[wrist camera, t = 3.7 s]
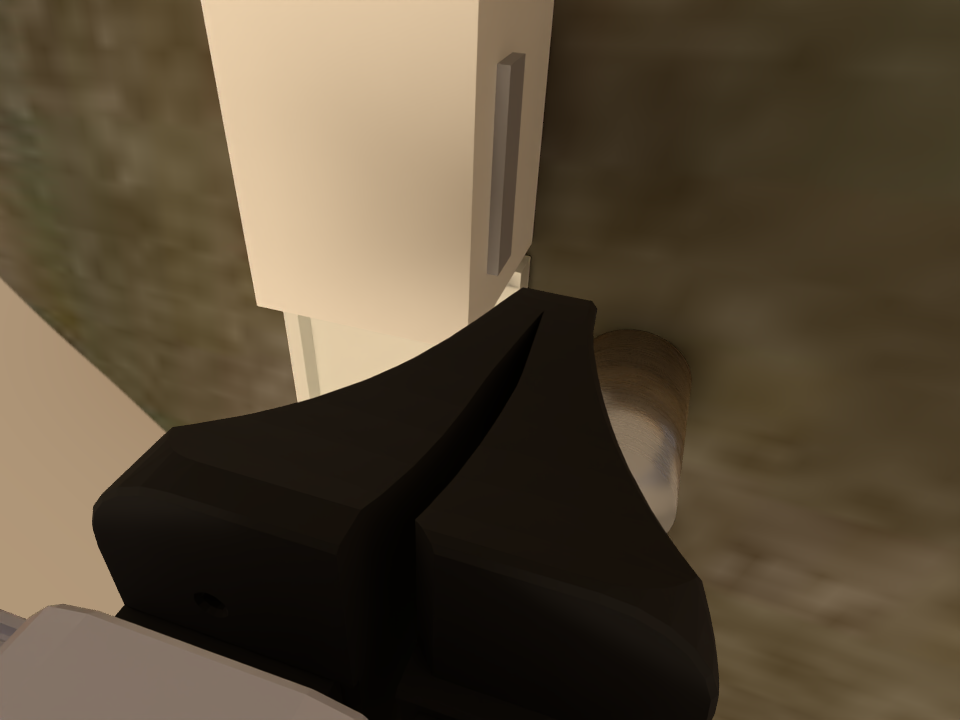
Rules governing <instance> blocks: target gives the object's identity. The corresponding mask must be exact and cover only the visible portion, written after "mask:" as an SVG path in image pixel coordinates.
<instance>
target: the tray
mask: <svg viewBox="0 0 960 720" xmlns="http://www.w3.org/2000/svg"><path fill="white" fill-rule="evenodd" d="M530 259H531V256H526V255H524V257H523V259H522V260H521V262H520V264H519V265H518V267H517V269H516V271H515V272H514V274H513V276H512V277H511V279H510V281H509V282H508V284H507V286H506V287H505V289H504V291H503V293H502V294H501V296H500V298H499V299H498V301H497V303H496V304H495V306H496V305H498V304H499V303H501V302H502V301H503V300H505V299H506V298H508V297H509V296H510V295H512V294H513V293H515V292H516V291H518V290H519V289H521V288H523V287H524V288H528V281H529V270H530ZM495 306H494V307H495ZM283 312H284V311H283ZM284 319H285V325H286V331H287V338H288V344H289V350H290V356H291V363H292V369H293V375H294V382H295V388H296V394H297V401H298V402H301V401H304V400H308V399H311V398H315V397H318V396H321V395H323V394H326V393H329V392H332V391H335V390H338V389H341V388H343V387H346V386H349V385H352V384H355V383H358V382H361V381H363V380H366V379H368V378H371V377H373V376H375V375H378V374H380V373H382V372H384V371H387V370H389V369H391V368H394V367H396V366H398V365H400V364H402V363H404V362H406V361H408V360H410V359H412V358H414V357H416V356H418V355H420V354H421V353H423V352H425V351H427V350H428V349H430V348H432V347H433V346H435V345H432V344H428V343H423V342H419V341H414V340H410V339H405V338H401V337H396V336H392V335H387V334H383V333H378V332H374V331H369V330H365V329H360V328H356V327H351V326H347V325H342V324H338V323H333V322H329V321H324V320H320V319H315V318H311V317H306V316H302V315H297V314H293V313H288V312H284Z"/></svg>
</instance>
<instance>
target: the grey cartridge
mask: <svg viewBox="0 0 960 720" xmlns="http://www.w3.org/2000/svg"><path fill="white" fill-rule="evenodd" d="M593 343H594V354H595V360H596V366H597V373H598V378H599V383H600V387H601V391H602V395H603V399H604V403H605V407H606V410H607V413H608V416H609V419H610V423H611V425H612V428H613V431H614V434H615V436H616V439H617V441H618V444H619V446H620V449H621V451H622V453H623V456H624V458H625V460H626V463H627V465H628V467H629V469H630V471H631V473H632V475H633V477H634V478H635V480H636V482H637V484H638V486H639V488H640V490H641V491H642V493H643V495H644V497H645V499H646V501H647V503H648V504H649V506H650V508H651V510H652V511H653V513H654V515H655V516H656V518H657V519H658V521H659V522H660V524H661V526H662V527H663V529H664V530H665V532H666V533H667V532H668V531H669V530H670V528H671V527H672V525H673V523H674V520H675V516H676V511H677V502H678V494H679V485H680V477H681V469H682V460H683V452H684V443H685V435H686V426H687V418H688V409H689V401H690V393H691V381H692V378H691V372H690V369H689V366H688V364H687V362H686V360H685V358H684V357H683V355H682V354H681V353H680V352H679V351H678V349H677V348H675V347H674V346H673V345H672V344H671V343H669V342H668V341H666V340H665V339H663V338H661V337H659V336H657V335H654V334H652V333H648V332H645V331H639V330H628V329H626V330H616V331H611V332H608V333H605V334H602V335H600V336H598V337H597V338H595V339H593Z"/></svg>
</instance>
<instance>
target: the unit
mask: <svg viewBox="0 0 960 720" xmlns="http://www.w3.org/2000/svg"><path fill="white" fill-rule="evenodd" d="M201 4H202V9H203V15H204V20H205V25H206V31H207V36H208V42H209V47H210V52H211V58H212V63H213V69H214V74H215V80H216V85H217V90H218V96H219V101H220V107H221V112H222V117H223V123H224V128H225V134H226V139H227V145H228V150H229V155H230V161H231V166H232V172H233V177H234V183H235V188H236V193H237V199H238V204H239V210H240V215H241V220H242V226H243V231H244V237H245V242H246V248H247V253H248V258H249V264H250V269H251V275H252V280H253V285H254V291H255V296H256V302H257V306H261V307H265V308H270V309H275V310H279V311H284V312H288V313H293V314H297V315H302V316H306V317H311V318H315V319H320V320H324V321H329V322H333V323H338V324H342V325H347V326H351V327H356V328H360V329H365V330H369V331H374V332H378V333H383V334H387V335H392V336H396V337H401V338H405V339H410V340H414V341H419V342H423V343H428V344H432V345H437V344H439V343H440V342H442V341H444V340H446V339H447V338H449V337H451V336H452V335H454V334H455V333H457V332H458V331H460V330H461V329H463V328H464V327H466V326H467V325H469V324H470V323H472V322H473V321H475V320H476V319H478V318H479V317H481V316H482V315H484V314H485V313H486V312H488V311H489V310H491V309H492V308H494V306H495V304H496V303H497V301H498V299H499V298H500V296H501V294H502V293H503V291H504V289H505V287H506V286H507V284H508V282H509V281H510V279H511V277H512V276H513V274H514V272H515V271H516V269H517V267H518V265H519V264H520V262H521V260H522V259H523V257H524V255H525V254H526V252H527V250H528V249H529V247H530V245H531V243H532V237H533V226H534V215H535V204H536V194H537V183H538V172H539V161H540V150H541V139H542V128H543V117H544V106H545V95H546V85H547V74H548V63H549V52H550V41H551V30H552V19H553V8H554V0H201Z"/></svg>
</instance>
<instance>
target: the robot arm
mask: <svg viewBox="0 0 960 720" xmlns="http://www.w3.org/2000/svg"><path fill="white" fill-rule="evenodd" d="M596 313H597V308H596V306H595V305H594V303H593V302H592V301H588V300H583V299H578V298H573V297H568V296H564V295H559V294H554V293H549V292H544V291H539V290H534V289H529V288H524V287H523V288H521V289H519V290H518V291H516V292H515V293H513V294H512V295H510V296H509V297H508V298H506V299H505V300H503V301H502V302H501V303H499V304H498V305H496V306H495V307H494V308H492V309H491V310H489V311H488V312H486V313H485V314H484V315H482V316H481V317H479V318H478V319H476V320H475V321H473V322H472V323H470V324H469V325H467V326H466V327H464V328H463V329H461V330H460V331H458V332H457V333H455V334H454V335H452V336H451V337H449V338H447V339H446V340H444V341H442V342H440V343H439V344H437V345H435V346H433V347H432V348H430V349H428V350H427V351H425V352H423V353H421V354H420V355H418V356H416V357H414V358H412V359H410V360H408V361H406V362H404V363H402V364H400V365H398V366H396V367H394V368H391V369H389V370H387V371H384V372H382V373H380V374H378V375H375V376H373V377H371V378H368V379H366V380H363V381H361V382H358V383H355V384H352V385H349V386H346V387H343V388H341V389H338V390H335V391H332V392H329V393H326V394H323V395H321V396H318V397H315V398H311V399H308V400H304V401H301V402H297V403H293V404H290V405H286V406H282V407H278V408H274V409H270V410H266V411H262V412H257V413H253V414H248V415H243V416H238V417H232V418H226V419H220V420H215V421H209V422H203V423H197V424H191V425H185V426H177V427H172V428H171V429H170V430H169V431H168V432H167V433H166V434H164V435H163V436H162V437H161V438H160V439H159V440H158V441H157V442H156V443H155V444H154V445H153V446H152V447H151V448H150V449H149V450H148V451H147V452H146V453H144V454H143V455H142V456H141V457H140V458H139V459H138V460H137V461H136V462H135V463H134V464H133V465H132V466H131V467H130V468H129V469H128V470H127V471H126V472H124V473H123V475H121V476H120V477H119V478H118V479H117V480H116V481H115V482H114V483H113V484H112V485H111V486H110V487H109V488H108V489H107V490H106V491H105V492H104V493H103V494H102V495H101V496H100V497H99V499H98V500H97V502H96V503H95V505H94V506H93V517H92V526H93V531H94V534H95V538H96V541H97V544H98V547H99V549H100V551H101V554H102V556H103V558H104V560H105V562H106V564H107V567H108V569H109V571H110V574H111V576H112V578H113V580H114V582H115V585H116V587H117V589H118V591H119V593H120V596H121V598H122V600H123V602H124V604H125V605H124V606H123V607H122V609H121V610H120V611H119V612H118V613H117V614H116V616H115V617H114V616H111V615H109V614H106V613H103V612H100V611H96V610H91V609H86V608H81V607H76V606H71V605H66V604H60V605H51V606H47V607H45V608H43V609H42V610H40V611H38V612H37V613H35V614H33V615H32V616H30V617H29V618H28V619H25V618H22V617H19V616H17V615H14V614H12V613H9V612H6V611H4V610H1V609H0V720H712V718H713V716H714V714H715V710H716V706H717V702H718V696H719V673H718V662H717V652H716V645H715V638H714V632H713V627H712V622H711V617H710V612H709V608H708V604H707V600H706V595H705V591H704V587H703V583H702V581H701V579H700V578H699V577H698V576H697V574H696V573H695V572H694V570H693V569H692V568H691V566H690V565H689V564H688V563H687V561H686V560H685V559H684V557H683V556H682V555H681V553H680V552H679V551H678V549H677V548H676V546H675V545H674V544H673V542H672V541H671V539H670V538H669V536H668V535H667V533H666V532H665V530H664V529H663V527H662V526H661V524H660V522H659V521H658V519H657V518H656V516H655V515H654V513H653V511H652V510H651V508H650V506H649V504H648V503H647V501H646V499H645V497H644V495H643V493H642V491H641V490H640V488H639V486H638V484H637V482H636V480H635V478H634V477H633V475H632V473H631V471H630V469H629V467H628V465H627V463H626V460H625V458H624V456H623V453H622V451H621V449H620V446H619V444H618V441H617V439H616V436H615V434H614V431H613V428H612V425H611V423H610V419H609V416H608V413H607V410H606V407H605V403H604V399H603V395H602V391H601V387H600V383H599V378H598V373H597V366H596V360H595V354H594V343H593V330H594V325H595V319H596Z"/></svg>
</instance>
